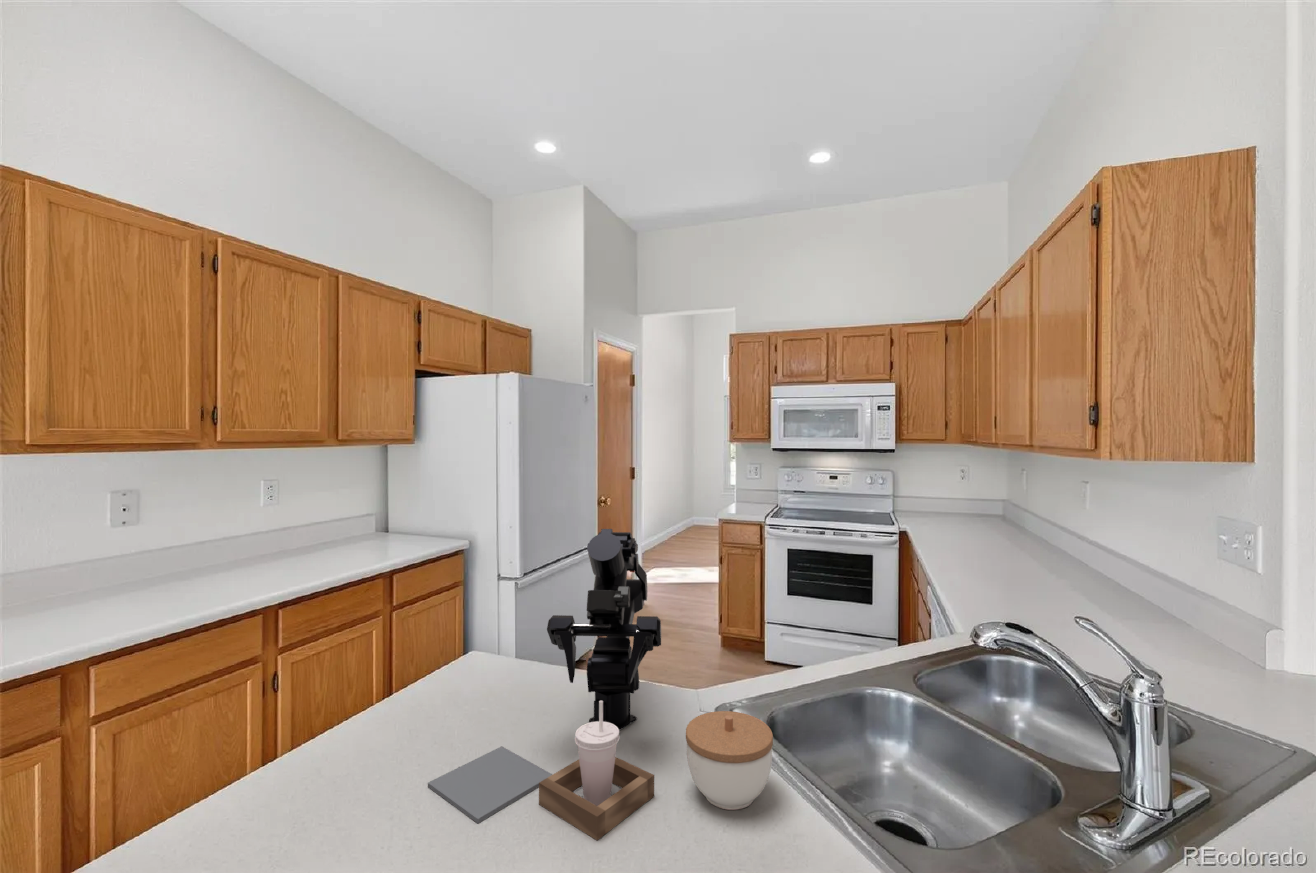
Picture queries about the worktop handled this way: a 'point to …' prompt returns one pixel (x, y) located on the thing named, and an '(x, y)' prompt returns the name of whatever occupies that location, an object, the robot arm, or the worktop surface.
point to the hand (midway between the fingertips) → (600, 682)
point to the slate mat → (489, 783)
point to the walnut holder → (586, 814)
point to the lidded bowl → (729, 757)
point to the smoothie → (597, 757)
